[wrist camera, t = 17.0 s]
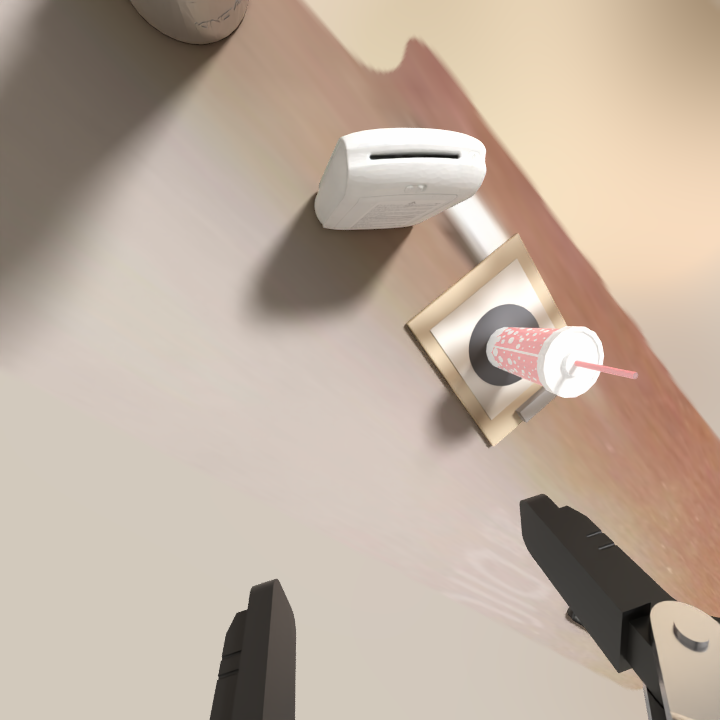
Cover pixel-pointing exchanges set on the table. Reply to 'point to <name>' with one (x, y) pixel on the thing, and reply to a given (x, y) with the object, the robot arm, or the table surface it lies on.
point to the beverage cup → (552, 357)
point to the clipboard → (475, 326)
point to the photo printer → (397, 177)
